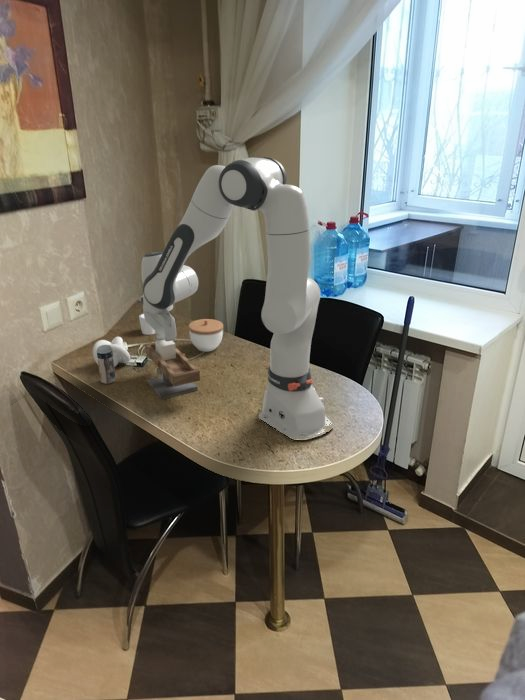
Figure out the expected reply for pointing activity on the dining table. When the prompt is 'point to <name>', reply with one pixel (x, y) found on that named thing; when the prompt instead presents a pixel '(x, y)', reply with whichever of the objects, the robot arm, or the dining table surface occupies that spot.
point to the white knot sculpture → (113, 350)
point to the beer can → (106, 364)
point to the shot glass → (145, 326)
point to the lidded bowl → (206, 334)
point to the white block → (165, 349)
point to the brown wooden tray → (172, 374)
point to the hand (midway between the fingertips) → (161, 343)
